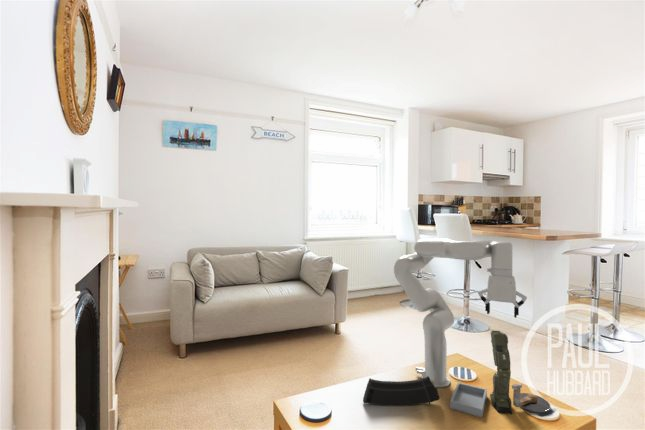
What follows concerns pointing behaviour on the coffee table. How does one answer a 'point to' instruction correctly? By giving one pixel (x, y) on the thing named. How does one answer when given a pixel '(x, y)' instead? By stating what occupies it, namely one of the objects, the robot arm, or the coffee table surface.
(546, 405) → the crank base
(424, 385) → the magazine
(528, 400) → the crank
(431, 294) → the robot arm
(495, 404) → the mechanical leg
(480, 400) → the tray
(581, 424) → the coffee table surface
